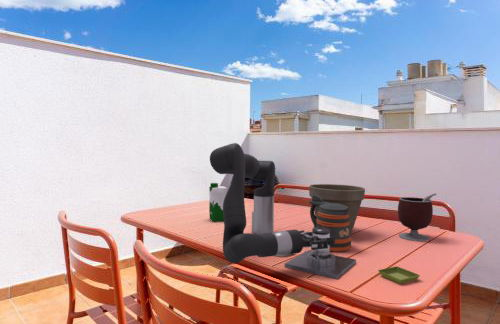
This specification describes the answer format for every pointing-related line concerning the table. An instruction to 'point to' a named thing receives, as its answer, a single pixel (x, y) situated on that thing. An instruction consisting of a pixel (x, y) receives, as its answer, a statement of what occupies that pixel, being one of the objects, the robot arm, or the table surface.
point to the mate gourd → (415, 216)
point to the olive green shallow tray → (398, 274)
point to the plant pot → (340, 197)
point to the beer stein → (332, 222)
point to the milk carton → (216, 201)
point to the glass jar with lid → (321, 233)
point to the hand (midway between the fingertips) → (326, 237)
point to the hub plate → (321, 269)
